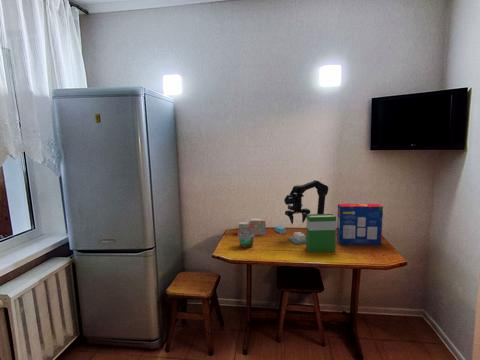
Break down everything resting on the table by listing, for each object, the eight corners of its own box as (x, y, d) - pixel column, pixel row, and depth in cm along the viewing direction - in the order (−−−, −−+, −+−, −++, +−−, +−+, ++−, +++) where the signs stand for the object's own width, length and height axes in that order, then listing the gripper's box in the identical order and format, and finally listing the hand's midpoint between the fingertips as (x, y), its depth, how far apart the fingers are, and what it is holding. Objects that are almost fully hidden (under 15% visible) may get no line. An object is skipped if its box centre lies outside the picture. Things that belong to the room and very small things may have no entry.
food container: (235, 248, 191) (234, 234, 189) (238, 244, 196) (238, 231, 195) (251, 250, 186) (251, 236, 185) (254, 246, 192) (254, 233, 191)
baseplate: (302, 237, 209) (302, 235, 208) (310, 242, 197) (310, 240, 197) (288, 239, 205) (288, 237, 205) (296, 244, 194) (296, 242, 194)
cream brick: (299, 236, 206) (299, 231, 205) (305, 240, 198) (305, 235, 198) (293, 237, 204) (293, 232, 203) (299, 241, 196) (299, 236, 196)
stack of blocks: (239, 235, 217) (238, 220, 215) (239, 232, 223) (239, 218, 222) (265, 235, 216) (265, 220, 214) (265, 232, 222) (265, 218, 220)
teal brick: (279, 230, 227) (279, 225, 227) (285, 232, 221) (285, 228, 220) (274, 231, 225) (274, 226, 224) (280, 233, 218) (280, 229, 217)
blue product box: (376, 241, 197) (378, 204, 193) (380, 245, 189) (382, 206, 185) (336, 240, 200) (337, 203, 196) (339, 244, 192) (340, 206, 188)
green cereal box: (331, 247, 188) (332, 213, 185) (335, 251, 181) (336, 216, 177) (306, 247, 188) (306, 214, 185) (308, 252, 181) (309, 217, 178)
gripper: (302, 199, 210) (302, 219, 212) (281, 201, 204) (281, 221, 206) (310, 202, 199) (310, 223, 201) (288, 205, 193) (288, 226, 195)
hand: (297, 223), depth 201 cm, fingers open, 9 cm apart
